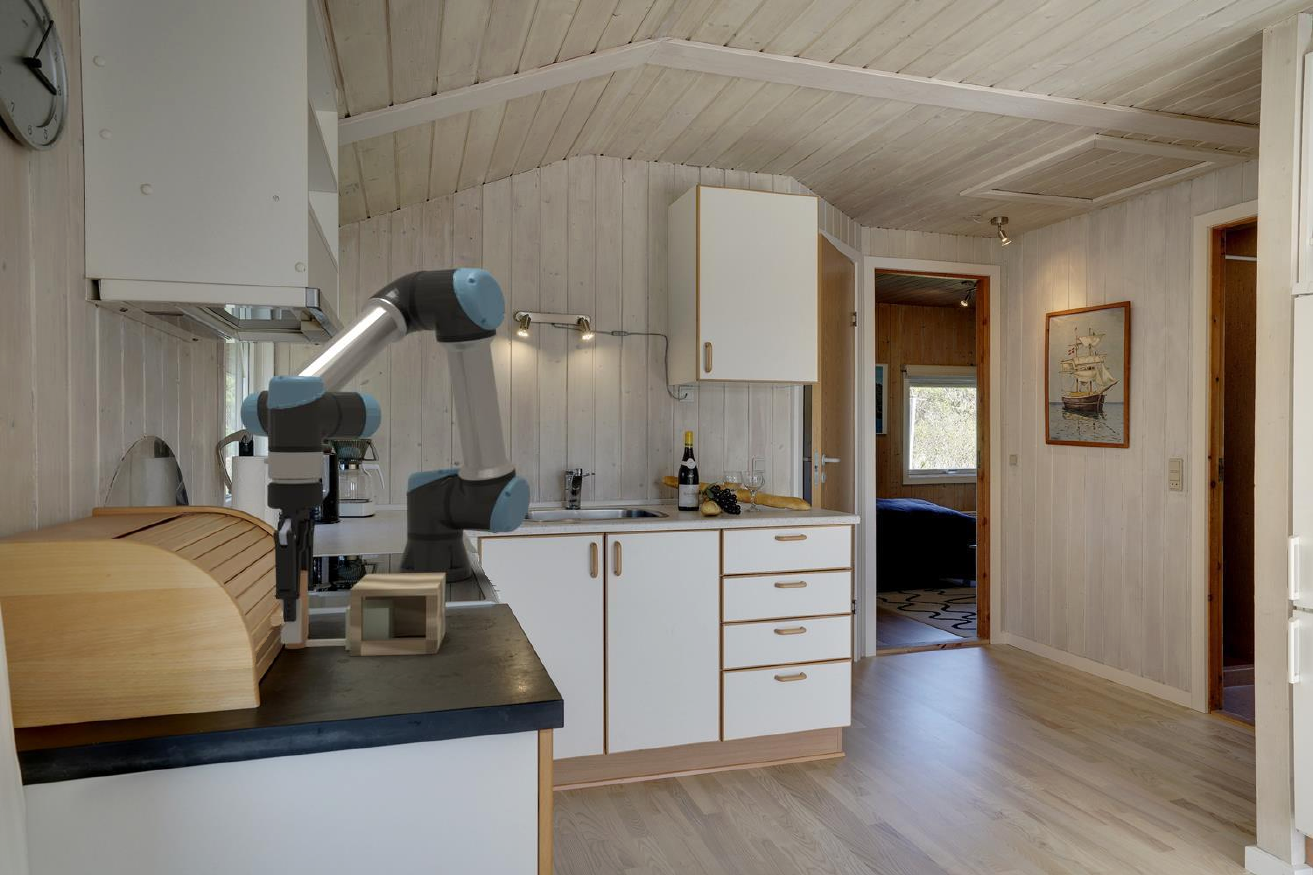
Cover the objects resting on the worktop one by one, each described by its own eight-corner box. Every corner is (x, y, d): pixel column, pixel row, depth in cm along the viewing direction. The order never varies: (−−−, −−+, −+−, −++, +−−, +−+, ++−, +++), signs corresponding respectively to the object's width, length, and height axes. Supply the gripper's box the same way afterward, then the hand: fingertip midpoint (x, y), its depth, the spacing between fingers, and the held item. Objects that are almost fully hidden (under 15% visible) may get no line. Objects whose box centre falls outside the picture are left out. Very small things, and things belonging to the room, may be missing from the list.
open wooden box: (366, 634, 129) (367, 573, 129) (445, 632, 131) (445, 572, 130) (349, 655, 117) (350, 589, 117) (436, 653, 119) (437, 588, 119)
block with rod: (291, 641, 124) (291, 568, 124) (394, 637, 127) (394, 566, 127) (279, 652, 118) (280, 576, 118) (388, 648, 121) (388, 574, 121)
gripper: (284, 476, 128) (283, 626, 129) (250, 485, 113) (249, 655, 113) (334, 476, 130) (333, 625, 130) (308, 485, 114) (307, 653, 114)
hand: (294, 638), depth 122 cm, fingers closed on block with rod, 3 cm apart
